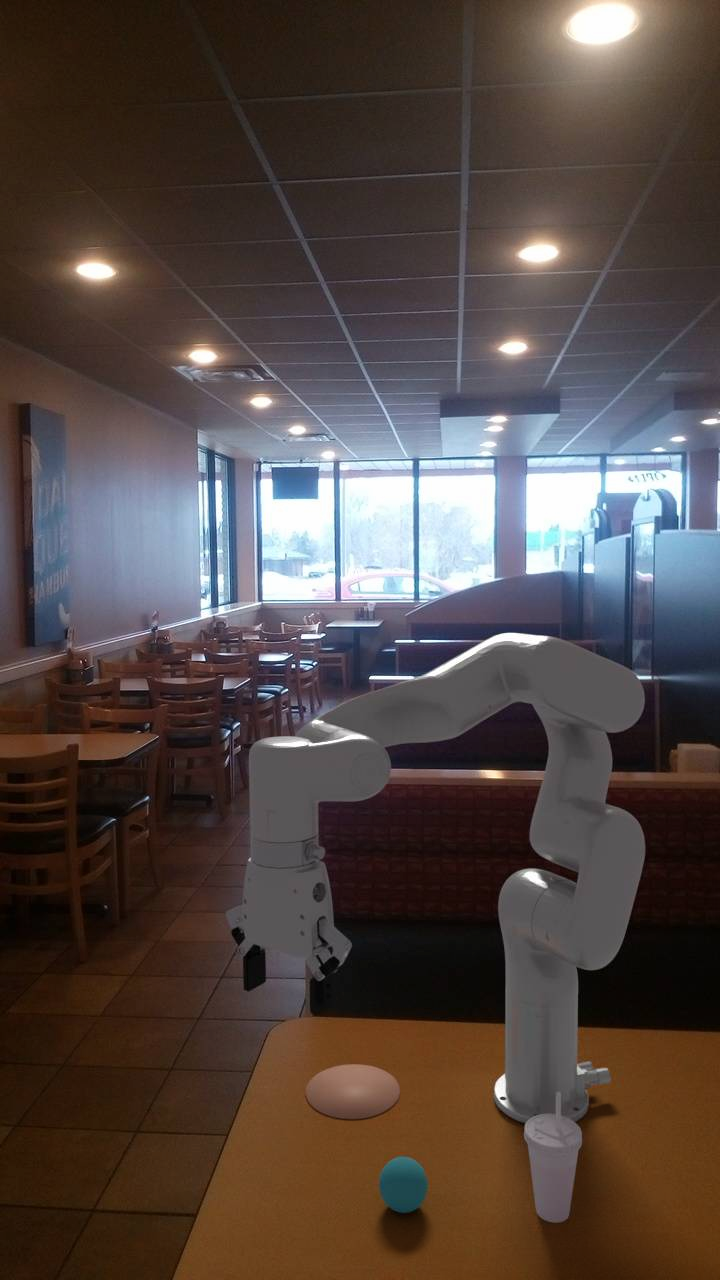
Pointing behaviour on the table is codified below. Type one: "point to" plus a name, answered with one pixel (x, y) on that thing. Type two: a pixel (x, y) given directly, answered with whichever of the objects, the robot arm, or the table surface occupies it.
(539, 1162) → the smoothie
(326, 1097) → the pink flattened dome
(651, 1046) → the table surface
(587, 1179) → the table surface
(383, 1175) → the ball
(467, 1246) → the table surface
